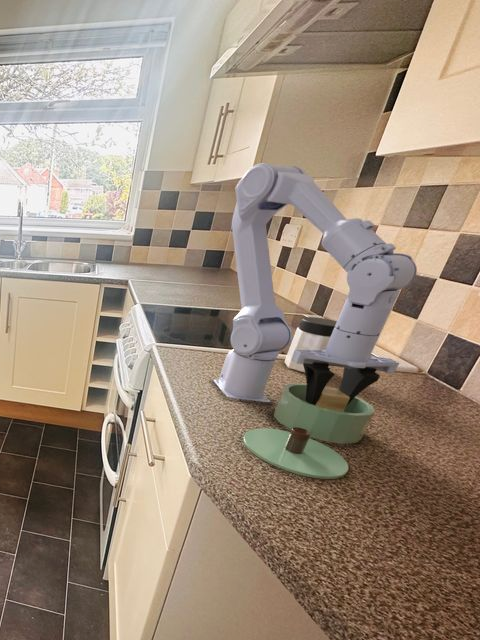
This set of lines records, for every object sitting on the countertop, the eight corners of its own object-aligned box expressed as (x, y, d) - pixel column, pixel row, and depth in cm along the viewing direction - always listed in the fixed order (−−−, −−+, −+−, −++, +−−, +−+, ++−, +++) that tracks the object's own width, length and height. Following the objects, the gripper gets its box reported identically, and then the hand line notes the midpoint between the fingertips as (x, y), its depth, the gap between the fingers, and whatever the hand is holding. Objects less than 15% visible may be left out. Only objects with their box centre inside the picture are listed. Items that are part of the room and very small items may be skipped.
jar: (307, 362, 108) (325, 317, 103) (335, 374, 100) (356, 326, 95) (275, 362, 107) (292, 316, 102) (301, 374, 99) (321, 326, 94)
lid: (229, 428, 74) (237, 405, 72) (315, 440, 71) (326, 416, 69) (262, 474, 62) (272, 447, 60) (367, 489, 59) (381, 462, 57)
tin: (261, 407, 82) (271, 379, 80) (333, 415, 80) (346, 387, 78) (292, 439, 71) (305, 409, 69) (377, 450, 69) (393, 419, 66)
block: (303, 405, 76) (311, 385, 75) (327, 407, 76) (336, 388, 74) (314, 415, 73) (323, 394, 71) (340, 418, 72) (350, 397, 70)
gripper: (320, 333, 66) (289, 409, 71) (427, 342, 63) (387, 420, 69) (297, 321, 72) (271, 392, 78) (394, 329, 70) (360, 402, 75)
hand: (324, 404), depth 74 cm, fingers closed on block, 4 cm apart
